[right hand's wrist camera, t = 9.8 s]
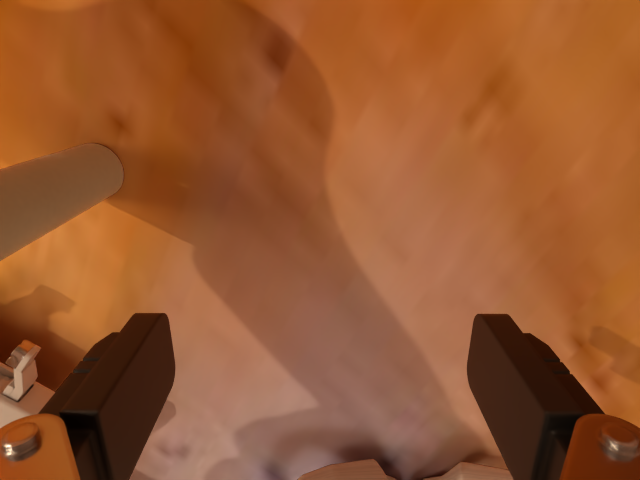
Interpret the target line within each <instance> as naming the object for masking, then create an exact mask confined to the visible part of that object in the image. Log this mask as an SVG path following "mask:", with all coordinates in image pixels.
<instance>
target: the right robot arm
mask: <svg viewBox="0 0 640 480" xmlns="http://www.w3.org/2000/svg"><path fill="white" fill-rule="evenodd" d="M467 376H468V382H469V386H470V389H471V391H472V393H473V395H474V397H475V399H476V401H477V404H478V406H479V408H480V410H481V412H482V414H483V416H484V418H485V421H486V423H487V425H488V427H489V429H490V431H491V433H492V435H493V437H494V440H495V442H496V444H497V446H498V448H499V450H500V452H501V454H502V457H503V459H504V461H505V463H506V465H507V467H508V469H509V471H510V474H511V476H512V478H513V480H640V428H638V427H637V426H635V425H633V424H631V423H630V422H627V421H625V420H623V419H620V418H617V417H614V416H610V415H605V413H604V412H603V411H602V410H601V409H600V407H599V406H598V405H597V404H596V403H595V401H594V400H593V399H592V398H591V397H590V395H589V394H588V393H587V392H586V390H585V389H584V388H583V387H582V386H581V384H580V383H579V382H578V381H577V380H576V378H575V377H574V376H573V375H572V374H570V371H569V370H568V369H567V367H566V366H565V365H564V364H563V363H562V362H560V359H559V358H558V357H557V355H556V354H555V353H554V352H553V351H552V349H551V348H550V347H549V346H548V345H547V344H545V343H544V342H542V341H541V340H539V339H538V338H536V337H535V336H533V335H532V334H530V333H522V331H521V330H520V329H519V327H518V326H517V325H516V323H515V322H514V321H513V320H512V318H511V317H510V316H509V315H508V314H477V315H476V316H475V318H474V322H473V328H472V335H471V341H470V348H469V355H468V361H467ZM174 377H175V359H174V352H173V346H172V339H171V332H170V325H169V319H168V317H167V315H166V314H165V313H135V314H134V315H133V316H132V317H131V318H130V320H129V321H128V322H127V323H126V325H125V326H124V327H123V329H122V330H121V331H120V332H113V333H111V334H110V335H108V336H107V337H105V338H104V339H102V340H101V341H99V342H98V343H96V344H95V345H94V346H93V347H92V348H91V349H90V351H89V352H88V353H87V354H86V356H85V357H84V358H83V361H81V362H80V363H79V364H78V365H77V367H76V368H75V369H74V372H73V373H71V374H70V375H69V376H68V378H67V379H66V380H65V381H64V382H63V384H62V385H61V386H60V387H59V388H58V390H57V391H56V392H55V393H54V395H53V396H52V397H51V398H50V399H49V401H48V402H47V403H46V404H45V406H44V407H43V408H42V409H41V410H40V412H39V413H38V414H35V415H30V416H26V417H23V418H20V419H17V420H15V421H13V422H10V423H9V424H7V425H5V426H3V427H2V428H0V480H129V479H130V476H131V474H132V472H133V470H134V468H135V466H136V463H137V461H138V459H139V457H140V455H141V453H142V451H143V448H144V446H145V444H146V442H147V440H148V438H149V436H150V433H151V431H152V429H153V427H154V425H155V423H156V421H157V418H158V416H159V414H160V412H161V410H162V408H163V405H164V403H165V401H166V399H167V397H168V395H169V393H170V390H171V388H172V386H173V382H174Z"/></svg>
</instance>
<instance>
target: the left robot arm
mask: <svg viewBox="0 0 640 480" xmlns="http://www.w3.org/2000/svg"><path fill="white" fill-rule="evenodd" d="M40 349H41V347H39V346H37V345H36V344H34V343H32V342H30V341H28V340H26V339H25V340H23V341H22V343H21V344H20V345H18V346H17V347H16V348H15V349H14V350H13V352H12V353H11V354H10V355H11V356H10V357H9V358H8V359H7V361H6V362H5V363H6V364H7V365H9V366H11V367H12V368H14V369H12V368H11V367H9V366H7V365H5V364H3V363H1V362H0V428H2V427H3V426H5V425H7V424H9V423H10V422H13V421H15V420H17V419H20V418H23V417H26V416H30V415H35V414H38V413H39V412H40V410H41V409H42V408H43V407H44V406H45V404H46V403H47V402H48V401H49V399H50V398H51V397H52V396H53V395H54V393H55V392H54V391H53V390H51V389H49V388H47V387H45V386H43V385H42V384H40V383H38V382H36V381H35V380H36V378H37V377H38V374H37V368H36V362H35V360H34V358H35V357H36V355H37V354H38V352H39V351H40Z"/></svg>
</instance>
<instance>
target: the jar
mask: <svg viewBox="0 0 640 480" xmlns="http://www.w3.org/2000/svg"><path fill="white" fill-rule="evenodd" d="M123 179H124V171H123V167H122V164H121V162H120V160H119V158H118V157H117V156H116V155H115V154H114V153H113V152H112V151H111V150H110V149H108V148H107V147H105V146H103V145H100V144H96V143H86V144H82V145H79V146H76V147H72V148H69V149H66V150H63V151H59V152H56V153H53V154H49V155H46V156H43V157H39V158H36V159H33V160H30V161H26V162H23V163H20V164H16V165H13V166H10V167H6V168H3V169H0V261H1V260H3V259H4V258H6V257H8V256H9V255H11V254H13V253H14V252H16V251H18V250H20V249H21V248H23V247H25V246H26V245H28V244H30V243H31V242H33V241H35V240H37V239H38V238H40V237H42V236H43V235H45V234H47V233H48V232H50V231H52V230H54V229H55V228H57V227H59V226H60V225H62V224H64V223H65V222H67V221H69V220H71V219H72V218H74V217H76V216H77V215H79V214H81V213H82V212H84V211H86V210H88V209H89V208H91V207H93V206H94V205H96V204H98V203H99V202H101V201H103V200H105V199H106V198H108V197H110V196H111V195H113V194H115V193H116V192H117V191H118V190H119V189H120V187H121V186H122V183H123Z"/></svg>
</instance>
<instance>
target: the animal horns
mask: <svg viewBox="0 0 640 480" xmlns="http://www.w3.org/2000/svg"><path fill="white" fill-rule="evenodd" d="M297 480H396V479H395V478H393V477H391V476H387V475H386V474H385V473H384V471H383V470H382V468H381V467H380V466H379V464H378V463H377V461H376V460H374V459H367V460H360V461H353V462H346V463H339V464H331V465H328V466H325V467H323V468H320V469H317V470H314V471H312V472H309V473H306V474H303V475H302V476H301V477H300V478H299V479H297ZM423 480H513V478H512V476H511V474H510V471H509V470H506V469H500V468H495V467H490V466H484V465H479V464H473V463H467V462H460V463H458V464H457V465H456V466H454V467H453V468H452V469H451V470H449V471H448V472H447V473H445V474H444V475H442V476H438V477H431V478H424V479H423Z"/></svg>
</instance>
